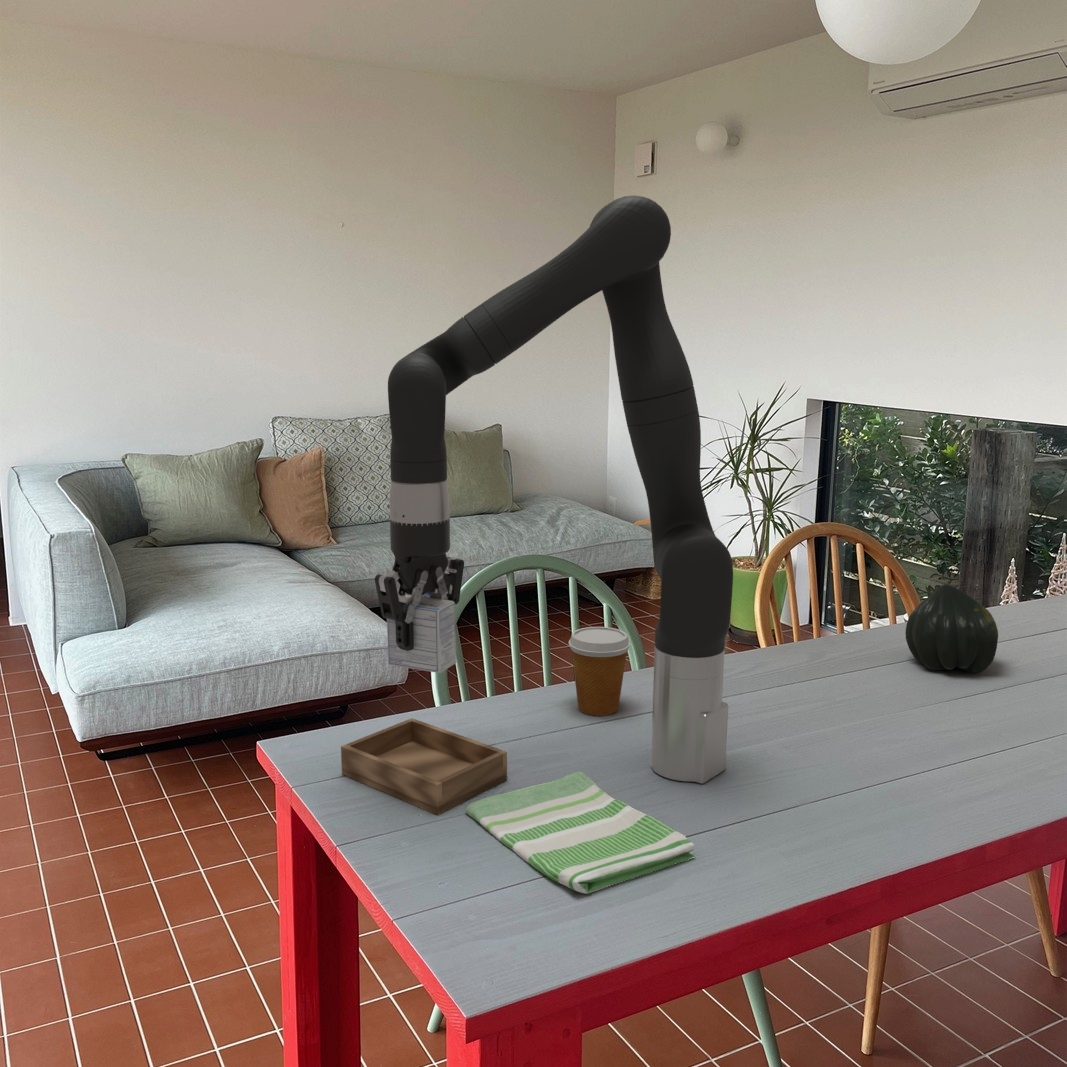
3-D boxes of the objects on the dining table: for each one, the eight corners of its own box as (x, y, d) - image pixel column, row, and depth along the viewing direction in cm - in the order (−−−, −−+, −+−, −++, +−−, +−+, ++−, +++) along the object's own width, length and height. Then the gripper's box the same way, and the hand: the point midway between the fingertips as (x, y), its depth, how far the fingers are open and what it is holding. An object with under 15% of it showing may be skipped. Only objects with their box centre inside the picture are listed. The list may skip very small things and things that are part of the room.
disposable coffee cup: (624, 722, 159) (626, 646, 157) (562, 717, 161) (563, 642, 159) (631, 699, 168) (633, 627, 166) (573, 695, 170) (574, 624, 168)
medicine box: (457, 664, 137) (456, 600, 136) (439, 675, 133) (438, 609, 132) (405, 656, 141) (403, 593, 139) (386, 665, 137) (385, 601, 135)
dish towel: (583, 784, 140) (583, 764, 139) (700, 861, 120) (701, 839, 120) (464, 817, 130) (464, 796, 130) (571, 906, 111) (571, 883, 110)
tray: (507, 780, 140) (507, 751, 139) (437, 815, 130) (437, 785, 129) (412, 744, 151) (411, 718, 150) (341, 774, 141) (340, 746, 140)
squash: (994, 659, 172) (1001, 578, 179) (898, 649, 178) (908, 572, 185) (995, 693, 183) (1000, 616, 190) (904, 683, 190) (913, 609, 196)
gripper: (398, 528, 125) (401, 664, 129) (480, 510, 136) (481, 636, 139) (356, 520, 130) (360, 651, 133) (438, 503, 141) (440, 626, 144)
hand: (422, 643), depth 136 cm, fingers closed on medicine box, 5 cm apart
